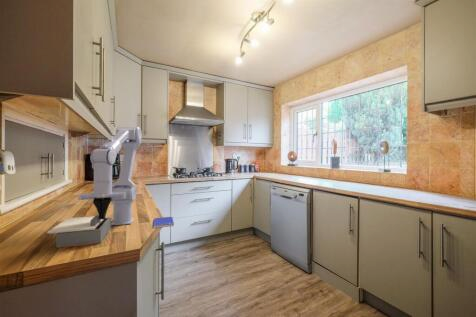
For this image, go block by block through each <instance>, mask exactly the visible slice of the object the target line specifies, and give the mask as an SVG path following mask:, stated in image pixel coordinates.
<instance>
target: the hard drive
mask: <svg viewBox="0 0 476 317" xmlns="http://www.w3.org/2000/svg"><path fill="white" fill-rule="evenodd" d="M152 225H153V226H152V227H153V229H158V228H169V227H175V222H174V219H173V216H166V217H165V216H164V217H154V218H153V224H152Z"/></svg>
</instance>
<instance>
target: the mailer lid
mask: <svg viewBox="0 0 476 317" xmlns="http://www.w3.org/2000/svg"><path fill="white" fill-rule="evenodd" d="M105 218H107V215H106V216H105ZM103 220H104V219H100V217H99V213H98V212H97V214H96V215H95V216H93V215H92V216H82V217H81V216H79V217H68V218H67V219H65V220H63V221H61V222H60V223H58V224H57V225H56V226H54V227H52V228H50V229H49V230H47V231H46V232H47V234H57V233H61V232H72V231H83V230H94V229H95V228H96V227H97V226H98V225H99V224H100V223H101V222H102V221H103Z"/></svg>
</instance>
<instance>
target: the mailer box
mask: <svg viewBox="0 0 476 317" xmlns="http://www.w3.org/2000/svg"><path fill="white" fill-rule="evenodd" d="M111 223H112V217H106V218H105V219H104V220H103V221H102V222H101V223H100V224H99V225H98V226H97V227H96V228H95V229H94V230H83V231H72V232H61V233H55V234H56V235H55V238H56V239H55V248H56V249H58V248H59V249H60V248H69V247H78V246H87V245H88V246H89V245H96V244H97V245H98V244H102V242H103V241H104V239H105V238H106V237H107V235H108V234H109V232H110V231H111V229H112V225H111Z"/></svg>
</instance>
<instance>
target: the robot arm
mask: <svg viewBox="0 0 476 317" xmlns="http://www.w3.org/2000/svg"><path fill="white" fill-rule="evenodd" d="M142 139H143V134H142V129H141V128H140V126H117V128H116V129H115V135H114V136H113V138H108V139H107V140H106V141H105V142H104V143H103V144H102V145H101V146H100V147H99V148H96V149H93V150H92V151H91V153H90V155H89V156H90V157H89V158H90V159H89V160H90V162H91V168H92V170H93V192H92V193H80V194H78V197H77V199H78V200H77V201H84V200H92V204H93V205H94V207H95V208H96V210H97V214H98V213H99V217H100V219H105V216H106V217H107V213H108V212H107V211H108V209H109V206H110V204H113V205H112V206H113V207H112V209H113V211H112V221H111V226H120V225H131V224H132V223H133V221H134V219H135V218H134V217H132V216H133V214H132V213H133V211H132V210H133V205H132V204H133V202H134V201H135V199H136V198H137V185H136V184H135V183H134V182H133V181H132V176H133V170H134V165H135V160H136V153H137V148H139V147H140V146H141V142H142ZM122 147H123V148H124V152H123V156H122V161H121V162H122V163H121V167H120V172H119V177H118V179H117V180H116V181H115V182H113V165H114V164H115V163H116V158H117V154H118V153H119V152H120V150H121V149H122Z"/></svg>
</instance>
